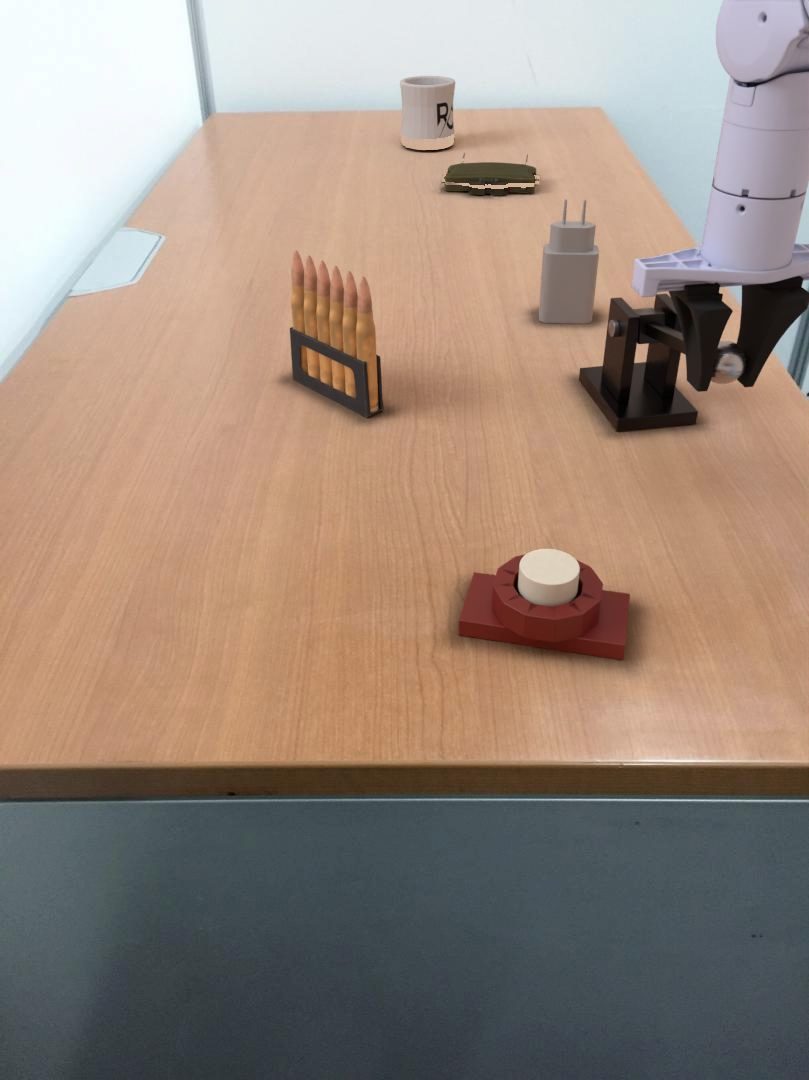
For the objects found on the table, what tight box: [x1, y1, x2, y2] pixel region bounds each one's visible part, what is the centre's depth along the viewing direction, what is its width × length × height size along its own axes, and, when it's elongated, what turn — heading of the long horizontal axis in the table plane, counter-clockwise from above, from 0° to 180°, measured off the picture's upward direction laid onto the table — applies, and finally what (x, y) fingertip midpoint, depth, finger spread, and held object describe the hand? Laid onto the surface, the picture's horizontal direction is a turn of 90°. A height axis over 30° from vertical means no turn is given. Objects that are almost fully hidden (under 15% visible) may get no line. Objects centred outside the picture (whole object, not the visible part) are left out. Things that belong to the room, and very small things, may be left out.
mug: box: [399, 75, 456, 139], centre depth 157 cm, size 12×9×10 cm
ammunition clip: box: [289, 250, 384, 419], centre depth 82 cm, size 11×2×12 cm, turn 43°
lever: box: [632, 307, 747, 385], centre depth 73 cm, size 17×3×3 cm, turn 10°
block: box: [458, 553, 631, 661], centre depth 59 cm, size 10×6×3 cm, turn 76°
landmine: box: [440, 152, 539, 197], centre depth 140 cm, size 14×3×15 cm
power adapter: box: [538, 198, 600, 325], centre depth 96 cm, size 3×5×12 cm, turn 85°
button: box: [518, 548, 580, 607], centre depth 58 cm, size 4×4×2 cm
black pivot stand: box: [578, 293, 699, 433], centre depth 81 cm, size 10×7×9 cm
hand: (720, 383), depth 68 cm, fingers closed on lever, 3 cm apart
